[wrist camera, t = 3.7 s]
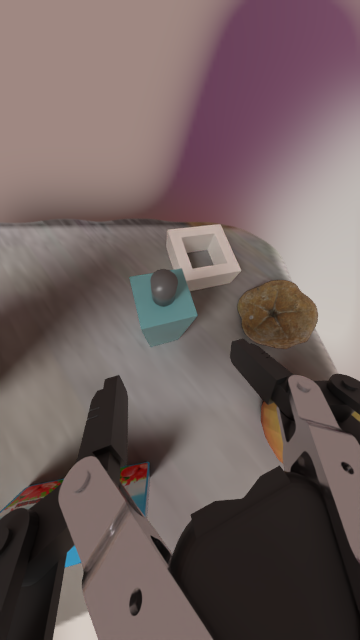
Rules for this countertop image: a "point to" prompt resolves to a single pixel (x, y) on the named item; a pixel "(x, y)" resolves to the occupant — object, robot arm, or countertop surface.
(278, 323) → the fossil
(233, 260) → the socket
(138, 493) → the blue printed box
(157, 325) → the teal block with knob
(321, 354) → the countertop surface
